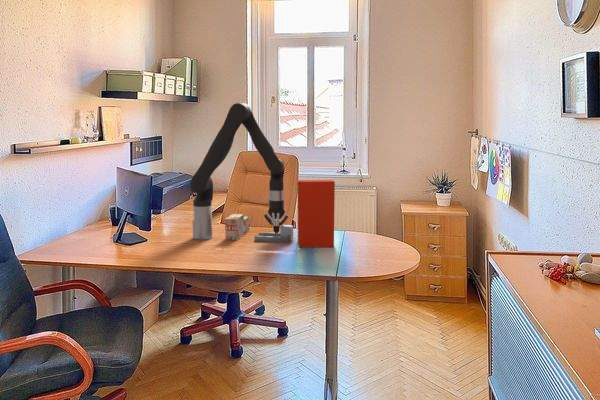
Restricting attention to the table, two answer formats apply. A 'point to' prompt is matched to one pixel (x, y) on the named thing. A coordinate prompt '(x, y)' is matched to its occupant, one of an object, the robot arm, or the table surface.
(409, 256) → the table surface
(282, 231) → the block
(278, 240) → the chute
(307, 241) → the file binder
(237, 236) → the white product box
